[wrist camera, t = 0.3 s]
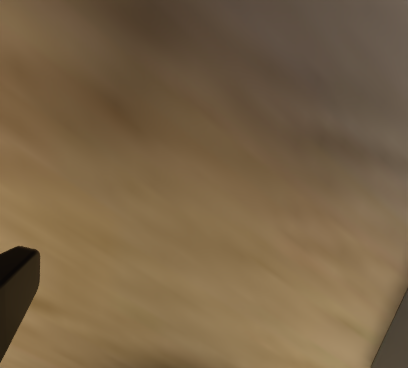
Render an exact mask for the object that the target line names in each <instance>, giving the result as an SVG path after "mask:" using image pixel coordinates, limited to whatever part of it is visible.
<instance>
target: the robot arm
mask: <svg viewBox="0 0 408 368" xmlns="http://www.w3.org/2000/svg"><path fill="white" fill-rule="evenodd" d="M39 281H40V253H39V251H37V250H36V249H31V248H27V247H23V246H17V247H14V248H12V249H10V250H8V251H6V252H4V253H1V254H0V362H1V360H2V359H3V357H4V355H5V353H6V351H7V349H8V347H9V345H10V343H11V341H12V339H13V337H14V335H15V333H16V331H17V329H18V327H19V325H20V323H21V322H22V320H23V318H24V316H25V314H26V312H27V310H28V308H29V306H30V304H31V302H32V300H33V298H34V296H35V294H36V292H37V289H38V286H39Z"/></svg>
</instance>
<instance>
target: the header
mask: <svg viewBox="0 0 408 368" xmlns="http://www.w3.org/2000/svg"><path fill="white" fill-rule="evenodd" d="M371 368H408V290H407V292H406V294H405V296H404V298H403V300H402V302H401V305H400V307H399V309H398V311H397V313H396V315H395V317H394V319H393V321H392V324H391V326H390V328H389V330H388V332H387V334H386V336H385V338H384V340H383V343H382V345H381V347H380V349H379V351H378V353H377V355H376V357H375V359H374V361H373V364H372V366H371Z"/></svg>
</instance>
